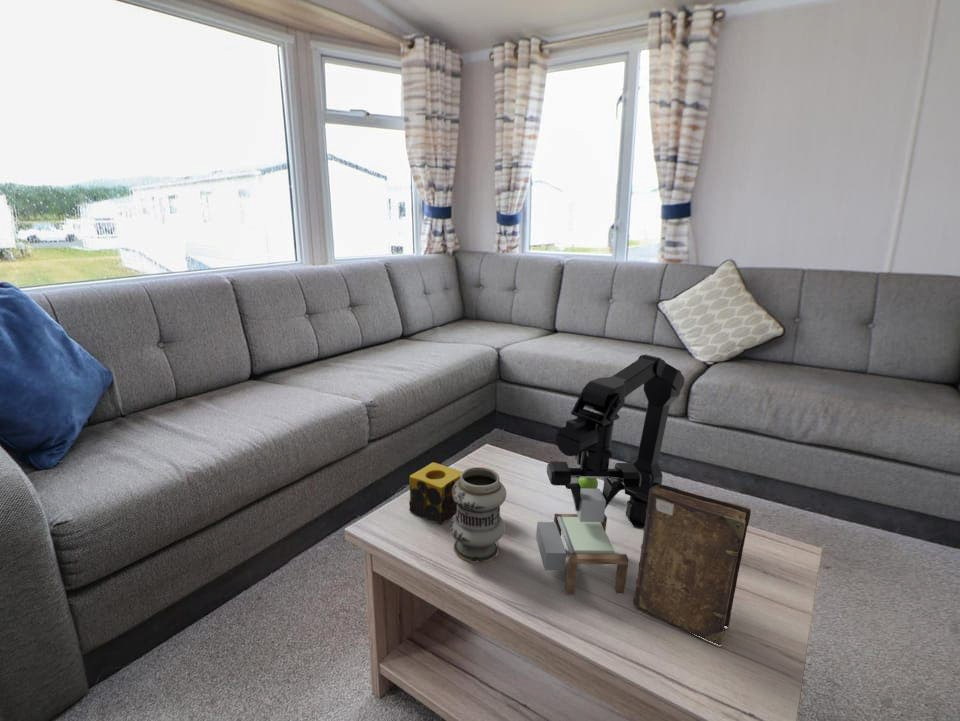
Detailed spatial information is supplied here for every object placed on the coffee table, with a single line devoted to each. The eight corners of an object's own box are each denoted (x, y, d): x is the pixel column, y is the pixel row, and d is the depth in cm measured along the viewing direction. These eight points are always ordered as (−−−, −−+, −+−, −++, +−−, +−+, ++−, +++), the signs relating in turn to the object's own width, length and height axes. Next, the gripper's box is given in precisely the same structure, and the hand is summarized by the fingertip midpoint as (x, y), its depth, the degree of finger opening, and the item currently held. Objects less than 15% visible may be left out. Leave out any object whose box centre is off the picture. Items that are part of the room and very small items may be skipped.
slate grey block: (597, 509, 114) (599, 488, 113) (603, 522, 109) (606, 500, 108) (574, 509, 114) (576, 488, 113) (579, 521, 109) (582, 500, 108)
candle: (465, 508, 132) (466, 472, 130) (441, 526, 124) (442, 488, 122) (433, 495, 138) (433, 460, 135) (408, 512, 129) (408, 475, 127)
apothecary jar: (451, 567, 109) (454, 490, 105) (446, 534, 121) (448, 463, 116) (508, 564, 111) (513, 488, 107) (497, 531, 123) (502, 461, 118)
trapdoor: (595, 536, 117) (597, 516, 115) (612, 572, 105) (614, 551, 103) (535, 536, 116) (537, 516, 114) (545, 572, 104) (547, 550, 103)
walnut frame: (601, 545, 120) (605, 514, 117) (623, 593, 104) (628, 559, 102) (551, 545, 119) (554, 513, 117) (566, 593, 103) (570, 558, 101)
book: (628, 605, 101) (645, 489, 94) (643, 587, 106) (660, 475, 100) (719, 652, 91) (745, 525, 84) (730, 629, 96) (755, 508, 90)
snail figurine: (602, 491, 144) (607, 451, 141) (590, 499, 139) (594, 458, 136) (585, 484, 147) (589, 444, 144) (572, 492, 143) (576, 451, 140)
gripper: (628, 428, 116) (620, 491, 120) (545, 426, 114) (539, 490, 118) (646, 449, 105) (637, 518, 109) (554, 447, 104) (548, 517, 108)
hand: (589, 510), depth 111 cm, fingers closed on slate grey block, 5 cm apart
